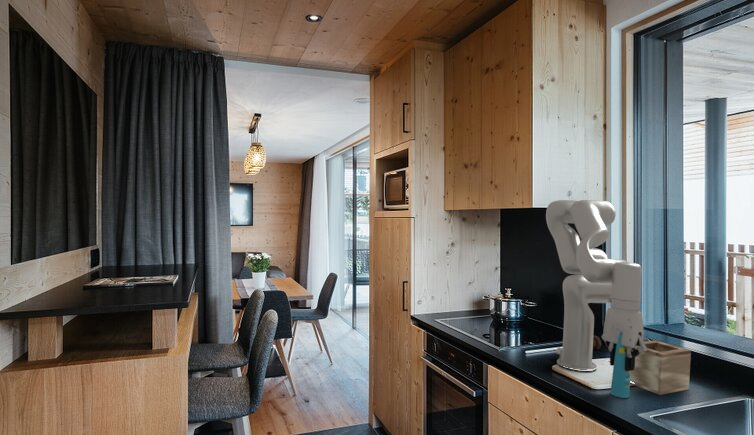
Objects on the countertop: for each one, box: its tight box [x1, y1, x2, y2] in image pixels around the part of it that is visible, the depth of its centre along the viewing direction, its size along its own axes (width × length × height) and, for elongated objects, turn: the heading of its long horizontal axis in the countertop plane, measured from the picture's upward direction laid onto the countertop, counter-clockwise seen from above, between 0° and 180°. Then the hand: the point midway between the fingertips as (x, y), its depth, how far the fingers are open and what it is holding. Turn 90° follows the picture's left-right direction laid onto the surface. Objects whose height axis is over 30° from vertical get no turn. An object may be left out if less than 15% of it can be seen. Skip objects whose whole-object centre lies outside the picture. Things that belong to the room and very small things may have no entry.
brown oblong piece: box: [593, 334, 602, 351], centre depth 186 cm, size 6×5×15 cm
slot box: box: [630, 340, 692, 396], centre depth 150 cm, size 12×14×12 cm
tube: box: [610, 332, 631, 399], centre depth 140 cm, size 7×5×19 cm, turn 140°
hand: (621, 367), depth 140 cm, fingers closed on tube, 4 cm apart
